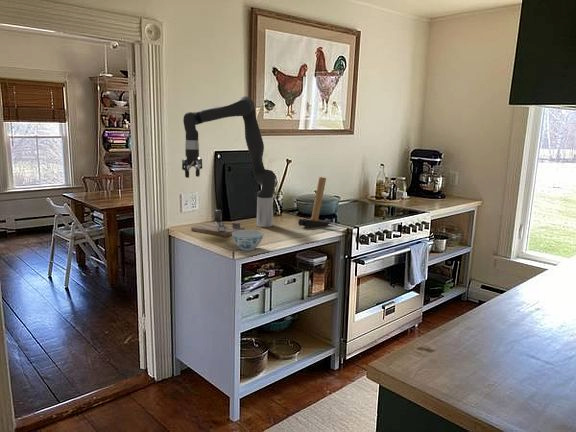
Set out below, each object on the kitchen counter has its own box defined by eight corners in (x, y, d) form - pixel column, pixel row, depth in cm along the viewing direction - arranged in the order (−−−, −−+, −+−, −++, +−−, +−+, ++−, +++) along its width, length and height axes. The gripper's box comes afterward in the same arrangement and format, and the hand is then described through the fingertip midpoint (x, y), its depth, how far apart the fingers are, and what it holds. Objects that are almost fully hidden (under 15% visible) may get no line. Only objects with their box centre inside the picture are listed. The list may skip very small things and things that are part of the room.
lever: (225, 230, 242) (225, 216, 240) (217, 231, 241) (217, 216, 239) (220, 223, 260) (220, 209, 258) (213, 223, 259) (213, 209, 257)
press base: (211, 225, 265) (211, 217, 265) (244, 231, 254) (244, 222, 253) (191, 230, 251) (191, 221, 250) (225, 236, 239) (225, 227, 238)
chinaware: (243, 243, 227) (243, 228, 226) (269, 247, 220) (269, 232, 219) (225, 249, 214) (225, 234, 213) (252, 254, 207) (252, 238, 206)
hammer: (324, 228, 277) (333, 179, 275) (329, 229, 273) (339, 180, 271) (297, 225, 266) (307, 174, 264) (302, 226, 262) (312, 175, 259)
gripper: (188, 149, 249) (188, 178, 252) (205, 148, 261) (205, 176, 264) (178, 148, 253) (178, 177, 256) (195, 147, 265) (196, 175, 268)
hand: (192, 177), depth 260 cm, fingers open, 8 cm apart
